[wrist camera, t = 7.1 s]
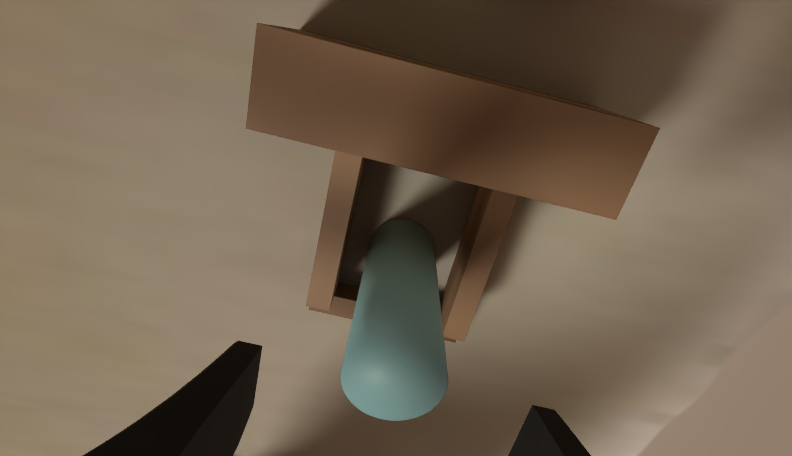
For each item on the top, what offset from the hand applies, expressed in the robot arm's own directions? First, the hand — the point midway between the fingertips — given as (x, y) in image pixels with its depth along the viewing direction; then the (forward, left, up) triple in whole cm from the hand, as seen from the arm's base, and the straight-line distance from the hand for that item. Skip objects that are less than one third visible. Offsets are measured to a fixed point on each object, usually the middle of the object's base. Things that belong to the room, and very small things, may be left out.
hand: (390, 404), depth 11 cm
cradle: (+2, 0, -9) cm, 10 cm away
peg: (0, 0, -9) cm, 9 cm away
